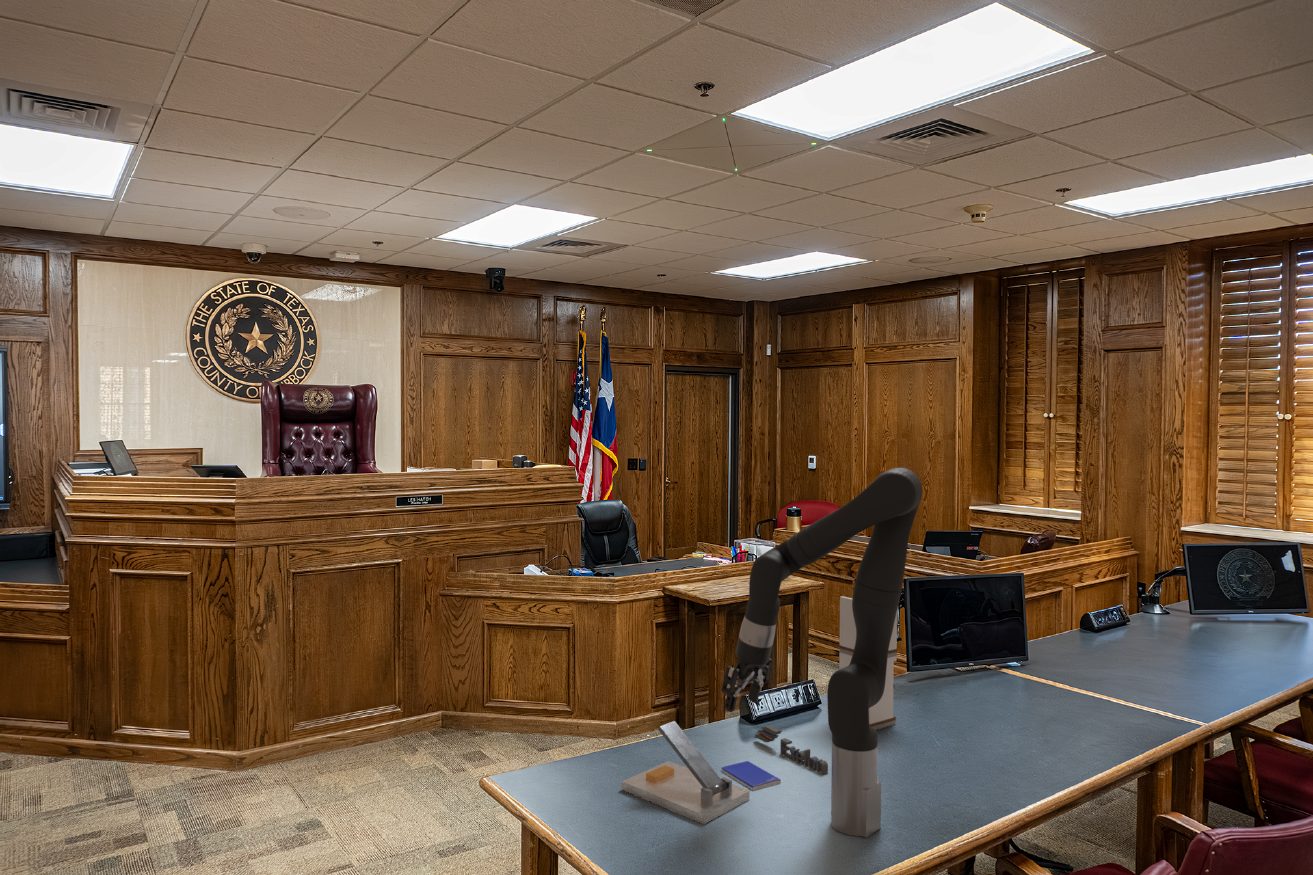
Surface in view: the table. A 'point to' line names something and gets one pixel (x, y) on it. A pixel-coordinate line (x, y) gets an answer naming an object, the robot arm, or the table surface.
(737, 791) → the mounting plate
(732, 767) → the hard drive
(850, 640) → the tall open-top box
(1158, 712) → the table surface
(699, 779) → the flat pivoting pedal
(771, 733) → the extruded letter logo
